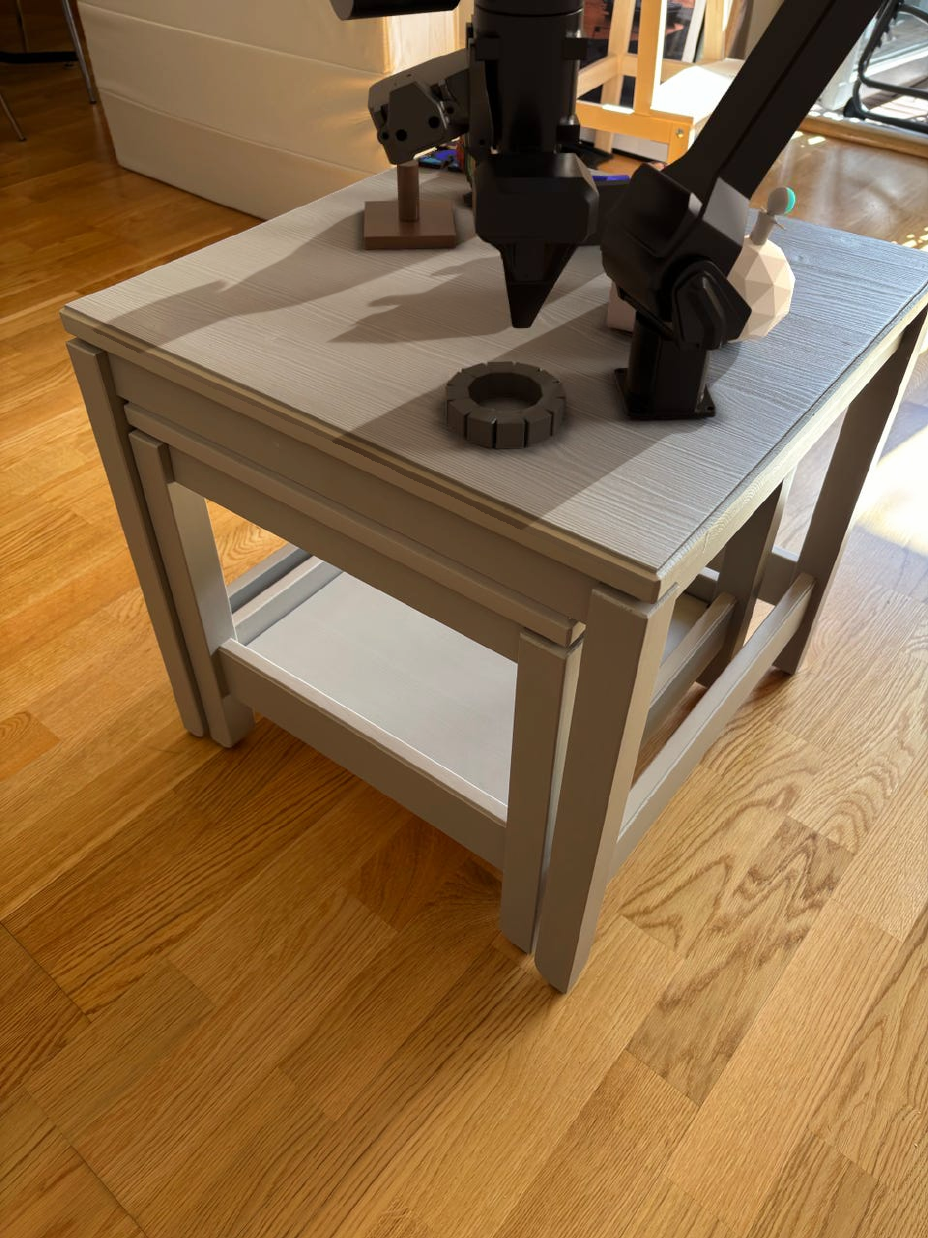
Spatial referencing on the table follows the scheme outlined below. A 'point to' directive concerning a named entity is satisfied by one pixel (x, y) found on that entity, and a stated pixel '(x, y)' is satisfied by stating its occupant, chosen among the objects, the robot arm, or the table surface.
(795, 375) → the table surface
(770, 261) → the perfume bottle
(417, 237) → the stand
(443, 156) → the pixel art figurine
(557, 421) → the ring
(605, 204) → the character figurine
